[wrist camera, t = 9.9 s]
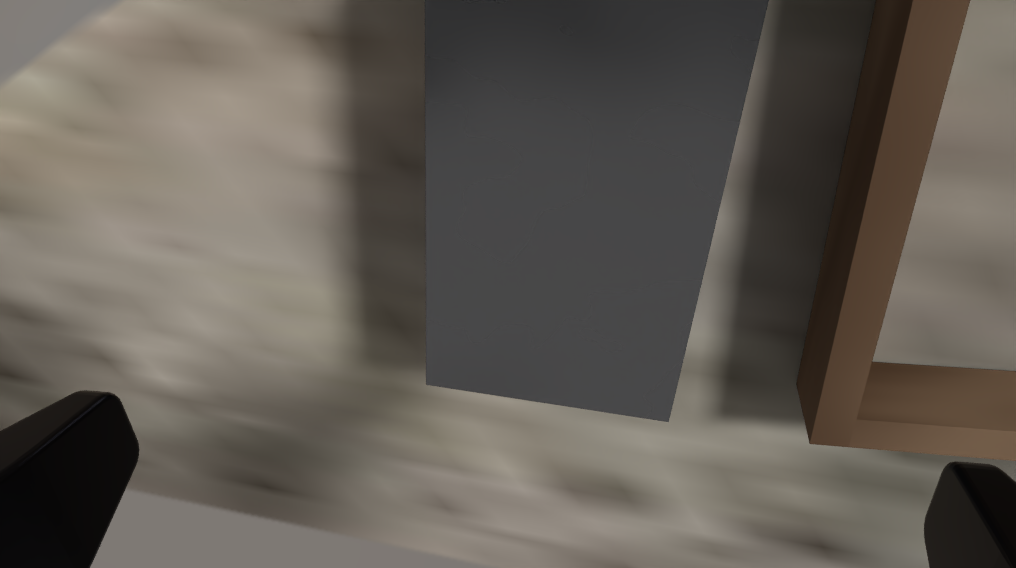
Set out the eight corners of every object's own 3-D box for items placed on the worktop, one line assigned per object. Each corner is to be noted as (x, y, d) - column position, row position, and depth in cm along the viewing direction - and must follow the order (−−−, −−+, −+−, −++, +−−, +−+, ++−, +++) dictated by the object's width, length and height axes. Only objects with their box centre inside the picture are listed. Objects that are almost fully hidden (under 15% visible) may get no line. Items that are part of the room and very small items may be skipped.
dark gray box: (756, -97, 13) (783, -61, 10) (666, 320, 18) (668, 422, 15) (473, -121, 14) (425, -93, 11) (461, 291, 19) (426, 384, 16)
